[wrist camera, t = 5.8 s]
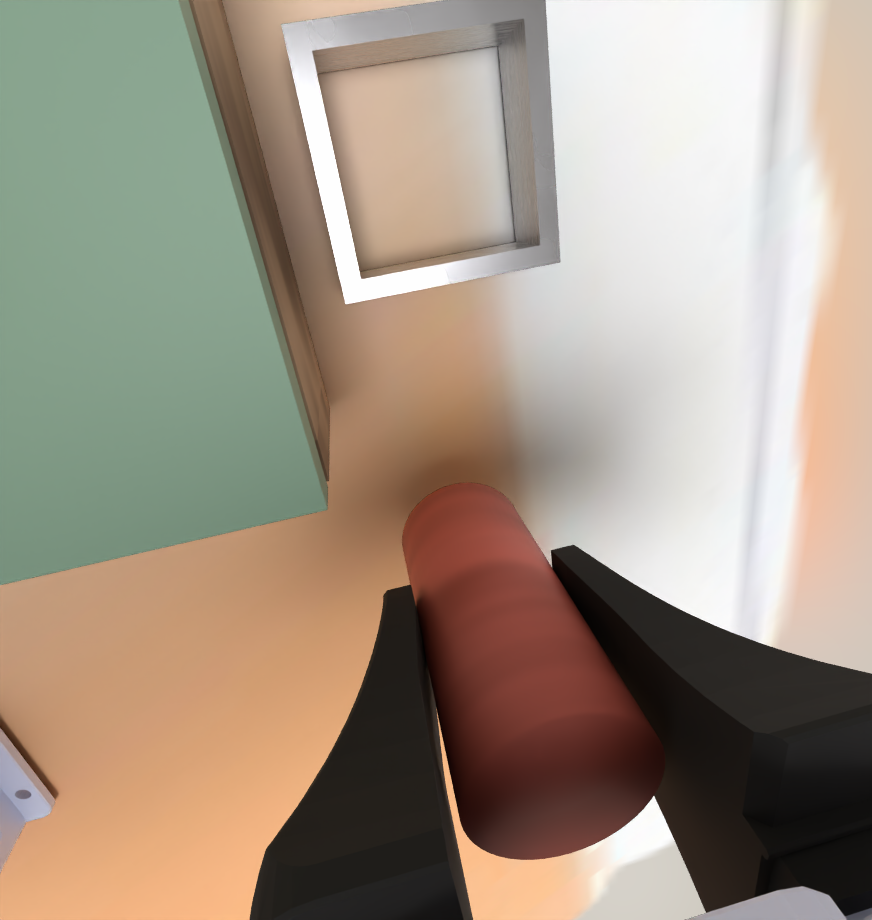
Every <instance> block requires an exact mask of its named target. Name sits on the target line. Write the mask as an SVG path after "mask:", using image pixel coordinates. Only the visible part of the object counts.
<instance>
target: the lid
mask: <svg viewBox="0 0 872 920" xmlns="http://www.w3.org/2000/svg"><path fill="white" fill-rule="evenodd" d="M325 510H328V486H327V482H326V479H325V475H324V472H323V468H322V465H321V461H320V458H319V455H318V451H317V448H316V444H315V441H314V437H313V434H312V430H311V427H310V423H309V420H308V416H307V413H306V409H305V406H304V402H303V399H302V395H301V392H300V388H299V385H298V381H297V378H296V374H295V371H294V367H293V364H292V360H291V357H290V353H289V350H288V346H287V343H286V339H285V336H284V332H283V329H282V325H281V322H280V318H279V315H278V311H277V308H276V304H275V301H274V297H273V294H272V290H271V287H270V283H269V280H268V276H267V273H266V270H265V266H264V263H263V259H262V256H261V252H260V249H259V245H258V242H257V238H256V235H255V231H254V228H253V224H252V221H251V217H250V214H249V210H248V207H247V203H246V200H245V196H244V193H243V189H242V186H241V182H240V179H239V175H238V172H237V168H236V165H235V161H234V158H233V154H232V151H231V147H230V144H229V140H228V137H227V133H226V130H225V126H224V123H223V119H222V116H221V112H220V109H219V105H218V102H217V98H216V95H215V91H214V88H213V85H212V81H211V78H210V74H209V71H208V67H207V64H206V60H205V57H204V53H203V50H202V46H201V43H200V39H199V36H198V32H197V29H196V25H195V22H194V18H193V15H192V11H191V8H190V4H189V1H188V0H0V585H3V584H7V583H12V582H16V581H21V580H25V579H29V578H34V577H38V576H42V575H47V574H51V573H55V572H60V571H64V570H68V569H73V568H77V567H81V566H86V565H90V564H94V563H99V562H103V561H107V560H112V559H116V558H120V557H125V556H129V555H133V554H138V553H142V552H146V551H151V550H155V549H160V548H164V547H168V546H173V545H177V544H181V543H186V542H190V541H194V540H199V539H203V538H207V537H212V536H216V535H220V534H225V533H229V532H233V531H238V530H242V529H246V528H251V527H255V526H259V525H264V524H268V523H272V522H277V521H281V520H285V519H290V518H294V517H299V516H303V515H307V514H312V513H316V512H320V511H325Z"/></svg>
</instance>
